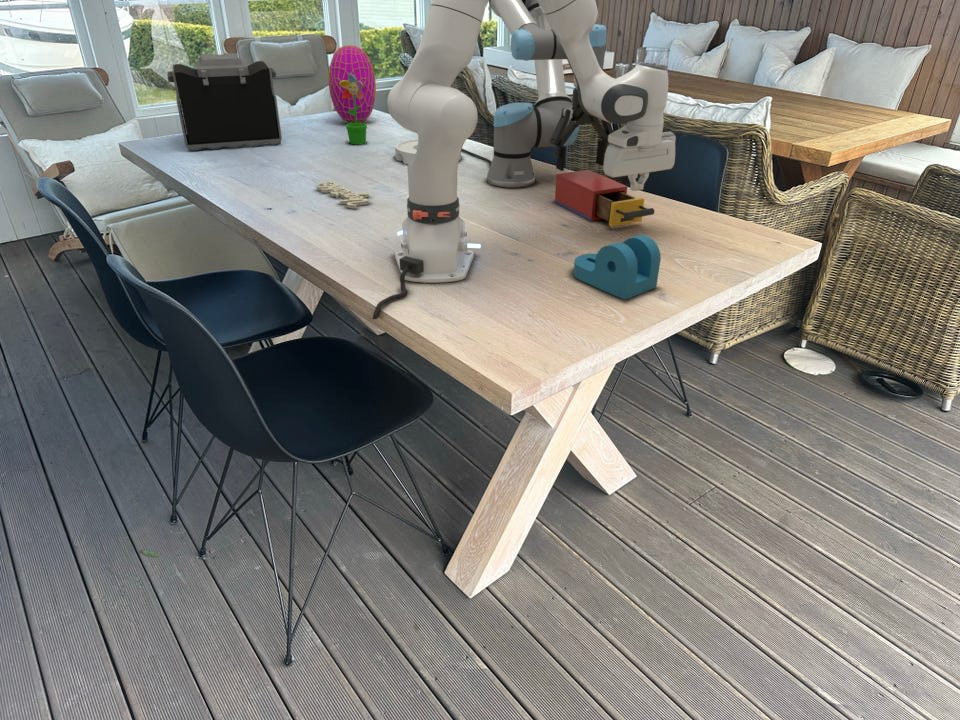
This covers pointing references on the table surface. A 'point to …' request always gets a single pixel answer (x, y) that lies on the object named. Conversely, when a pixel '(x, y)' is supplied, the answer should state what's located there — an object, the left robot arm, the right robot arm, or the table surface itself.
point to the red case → (583, 191)
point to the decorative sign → (344, 194)
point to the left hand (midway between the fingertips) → (636, 189)
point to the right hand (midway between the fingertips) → (580, 167)
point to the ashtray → (407, 150)
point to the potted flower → (354, 129)
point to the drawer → (621, 208)
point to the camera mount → (621, 267)
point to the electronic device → (226, 103)
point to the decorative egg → (361, 68)
